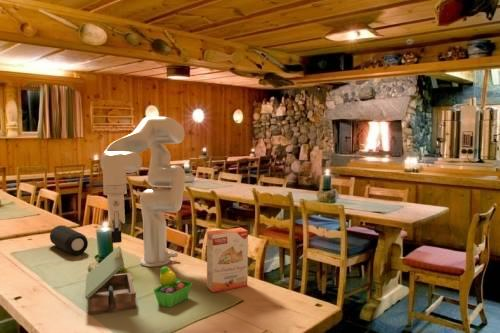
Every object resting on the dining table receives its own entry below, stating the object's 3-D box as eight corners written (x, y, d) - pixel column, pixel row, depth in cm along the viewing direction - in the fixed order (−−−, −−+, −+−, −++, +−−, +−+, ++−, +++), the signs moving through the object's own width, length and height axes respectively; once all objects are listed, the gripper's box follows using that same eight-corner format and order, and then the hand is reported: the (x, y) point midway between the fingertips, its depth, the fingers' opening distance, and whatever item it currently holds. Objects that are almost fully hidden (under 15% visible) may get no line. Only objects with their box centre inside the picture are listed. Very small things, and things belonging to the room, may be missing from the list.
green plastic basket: (170, 310, 133) (169, 275, 132) (149, 303, 138) (149, 270, 137) (193, 297, 143) (192, 265, 142) (173, 292, 148) (172, 261, 147)
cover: (120, 247, 151) (117, 244, 151) (124, 265, 132) (120, 262, 131) (88, 276, 148) (85, 273, 148) (87, 299, 129) (83, 296, 128)
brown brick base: (131, 285, 153) (131, 272, 153) (136, 308, 135) (136, 293, 134) (89, 291, 148) (89, 277, 148) (88, 315, 130) (87, 299, 129)
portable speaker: (90, 253, 192) (89, 232, 192) (68, 258, 186) (67, 236, 185) (69, 242, 211) (68, 222, 210) (48, 246, 204) (47, 226, 203)
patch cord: (112, 286, 150) (112, 283, 150) (114, 309, 131) (114, 305, 131) (108, 287, 149) (108, 283, 149) (110, 310, 131) (109, 305, 131)
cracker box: (212, 293, 146) (212, 234, 144) (206, 287, 152) (205, 230, 150) (248, 286, 153) (248, 230, 151) (241, 281, 158) (241, 226, 156)
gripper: (127, 192, 138) (129, 246, 139) (125, 186, 152) (126, 236, 153) (103, 193, 135) (105, 249, 137) (103, 187, 149) (104, 237, 151)
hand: (116, 242), depth 145 cm, fingers closed
